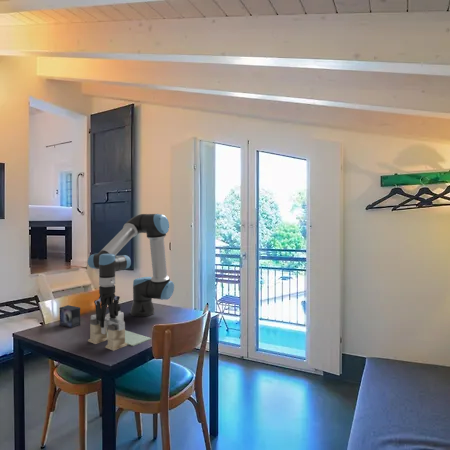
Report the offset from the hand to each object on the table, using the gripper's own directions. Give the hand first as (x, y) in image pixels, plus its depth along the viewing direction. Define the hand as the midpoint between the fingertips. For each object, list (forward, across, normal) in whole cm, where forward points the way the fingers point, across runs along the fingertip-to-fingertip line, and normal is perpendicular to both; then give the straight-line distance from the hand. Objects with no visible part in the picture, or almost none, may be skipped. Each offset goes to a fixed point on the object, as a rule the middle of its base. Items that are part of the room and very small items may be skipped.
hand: (107, 332), depth 174 cm
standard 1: (+6, 0, +7) cm, 9 cm away
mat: (+6, +11, 0) cm, 12 cm away
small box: (+6, +5, +41) cm, 42 cm away
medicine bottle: (+6, +20, +20) cm, 29 cm away
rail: (-3, 0, 0) cm, 3 cm away
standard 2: (+6, 0, -7) cm, 9 cm away
